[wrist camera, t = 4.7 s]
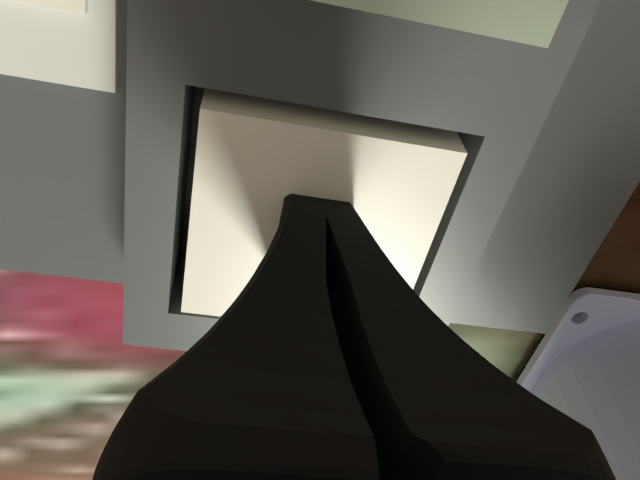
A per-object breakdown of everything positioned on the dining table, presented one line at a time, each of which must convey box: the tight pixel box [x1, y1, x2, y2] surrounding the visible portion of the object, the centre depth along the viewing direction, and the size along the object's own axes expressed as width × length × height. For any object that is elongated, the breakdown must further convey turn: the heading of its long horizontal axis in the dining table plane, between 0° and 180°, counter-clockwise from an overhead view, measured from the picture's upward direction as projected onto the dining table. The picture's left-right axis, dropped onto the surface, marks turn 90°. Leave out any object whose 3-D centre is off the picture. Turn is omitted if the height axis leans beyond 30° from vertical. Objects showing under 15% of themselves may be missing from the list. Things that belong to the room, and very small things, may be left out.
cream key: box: [181, 88, 467, 317], centre depth 13 cm, size 5×5×2 cm
